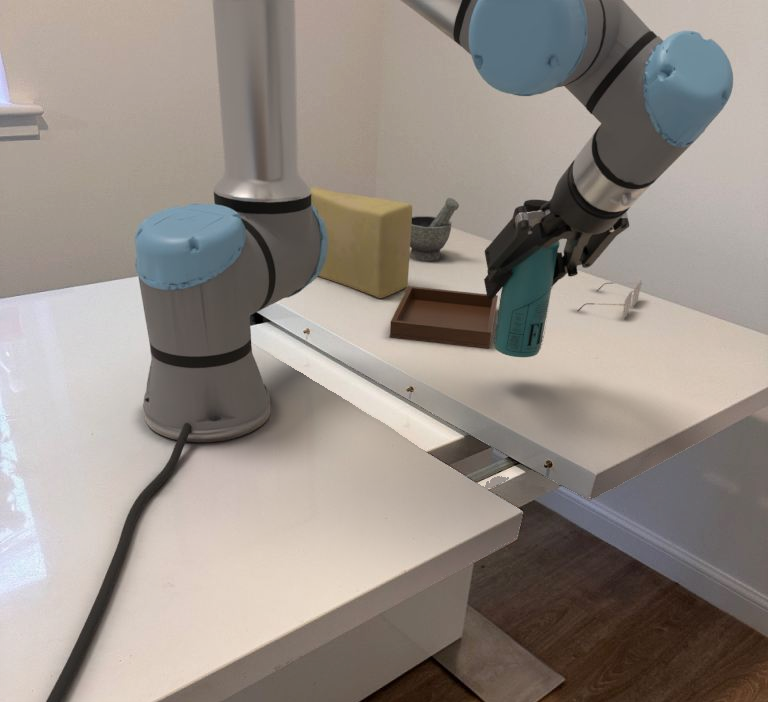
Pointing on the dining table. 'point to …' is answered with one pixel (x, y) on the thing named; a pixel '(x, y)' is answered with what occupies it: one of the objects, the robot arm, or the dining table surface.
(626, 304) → the eyeglasses
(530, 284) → the beverage bottle
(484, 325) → the tray
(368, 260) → the cheese
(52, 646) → the dining table surface
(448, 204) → the mortar and pestle
